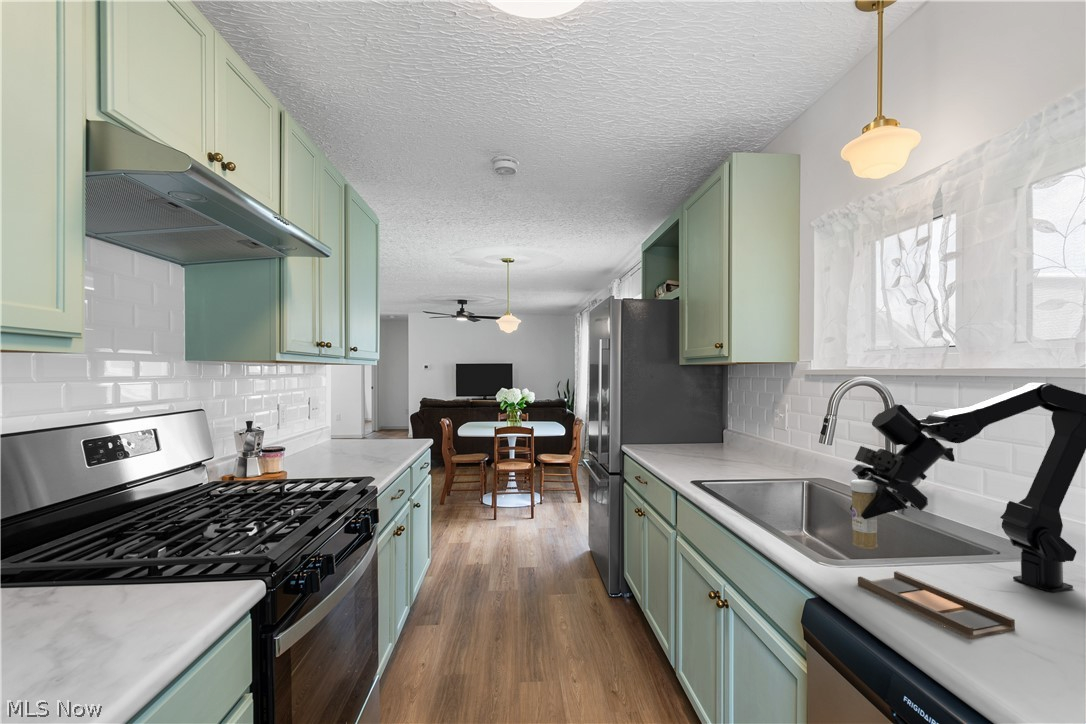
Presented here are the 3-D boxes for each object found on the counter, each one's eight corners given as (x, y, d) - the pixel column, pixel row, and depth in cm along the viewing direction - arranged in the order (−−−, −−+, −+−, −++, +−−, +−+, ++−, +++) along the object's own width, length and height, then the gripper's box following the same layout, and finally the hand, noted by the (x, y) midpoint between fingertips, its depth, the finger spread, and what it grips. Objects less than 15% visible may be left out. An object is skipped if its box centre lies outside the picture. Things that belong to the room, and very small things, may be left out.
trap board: (897, 579, 104) (896, 571, 104) (1014, 629, 84) (1014, 619, 84) (857, 585, 102) (857, 576, 102) (969, 638, 82) (969, 628, 82)
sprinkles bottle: (847, 543, 107) (845, 479, 108) (866, 541, 108) (864, 478, 108) (863, 550, 103) (861, 484, 103) (883, 549, 103) (881, 483, 104)
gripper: (859, 428, 115) (809, 477, 116) (907, 439, 96) (847, 498, 97) (898, 463, 113) (847, 512, 115) (955, 481, 95) (893, 540, 96)
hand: (857, 514), depth 106 cm, fingers closed on sprinkles bottle, 4 cm apart
